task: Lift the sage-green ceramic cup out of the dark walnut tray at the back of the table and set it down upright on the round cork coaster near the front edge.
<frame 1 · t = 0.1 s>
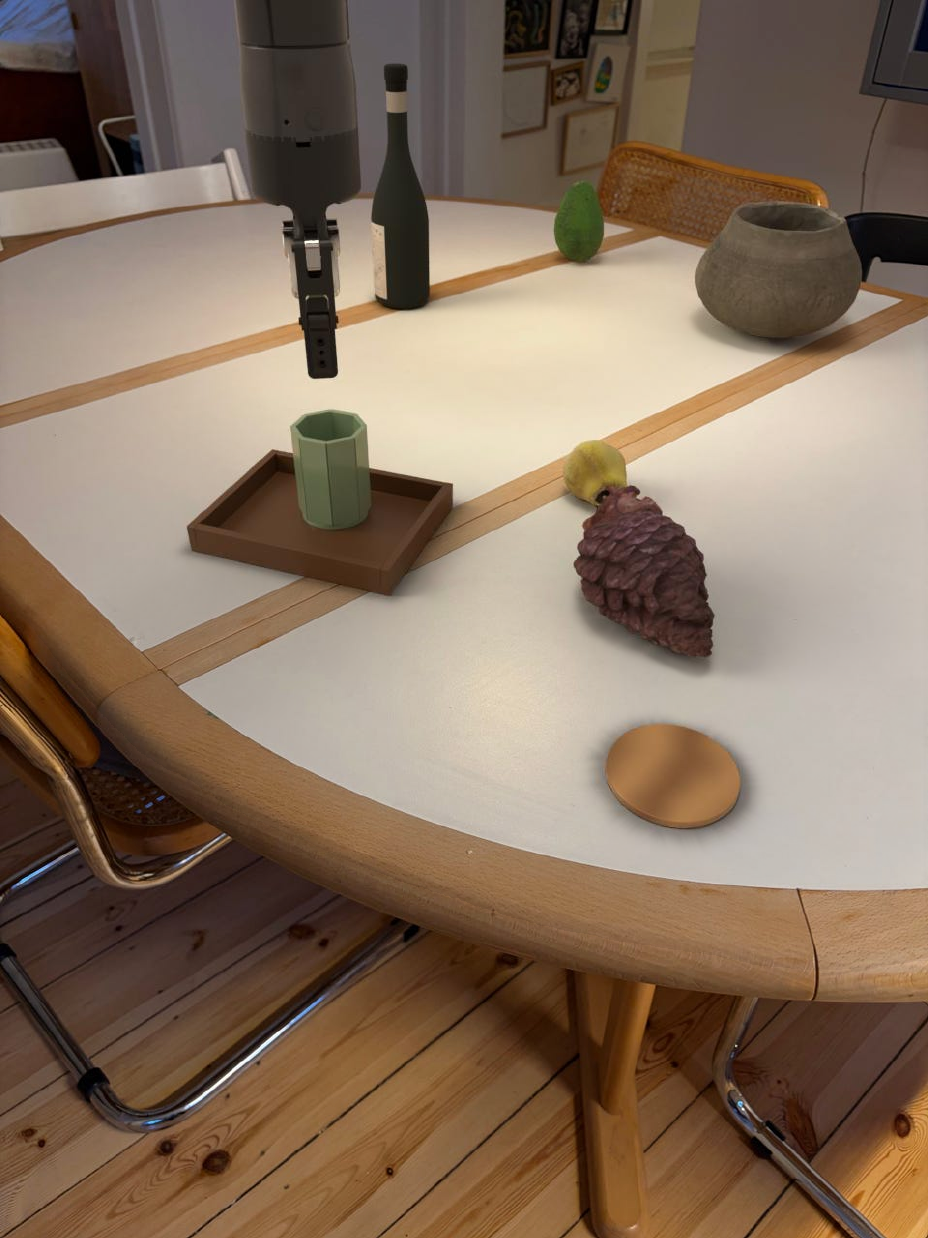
hand: (321, 353, 72), 19 cm above the table, tool pointing down, fingers open, 8 cm apart
coaster: (671, 776, 64), on the table
pine cone: (634, 616, 78), on the table
wine bottle: (402, 302, 136), on the table
fruit 2: (599, 502, 93), on the table
cup: (335, 511, 89), point 1 cm above the table, touching tray
tray: (327, 527, 88), on the table
fruit: (576, 261, 152), on the table
clay pot: (765, 328, 130), on the table
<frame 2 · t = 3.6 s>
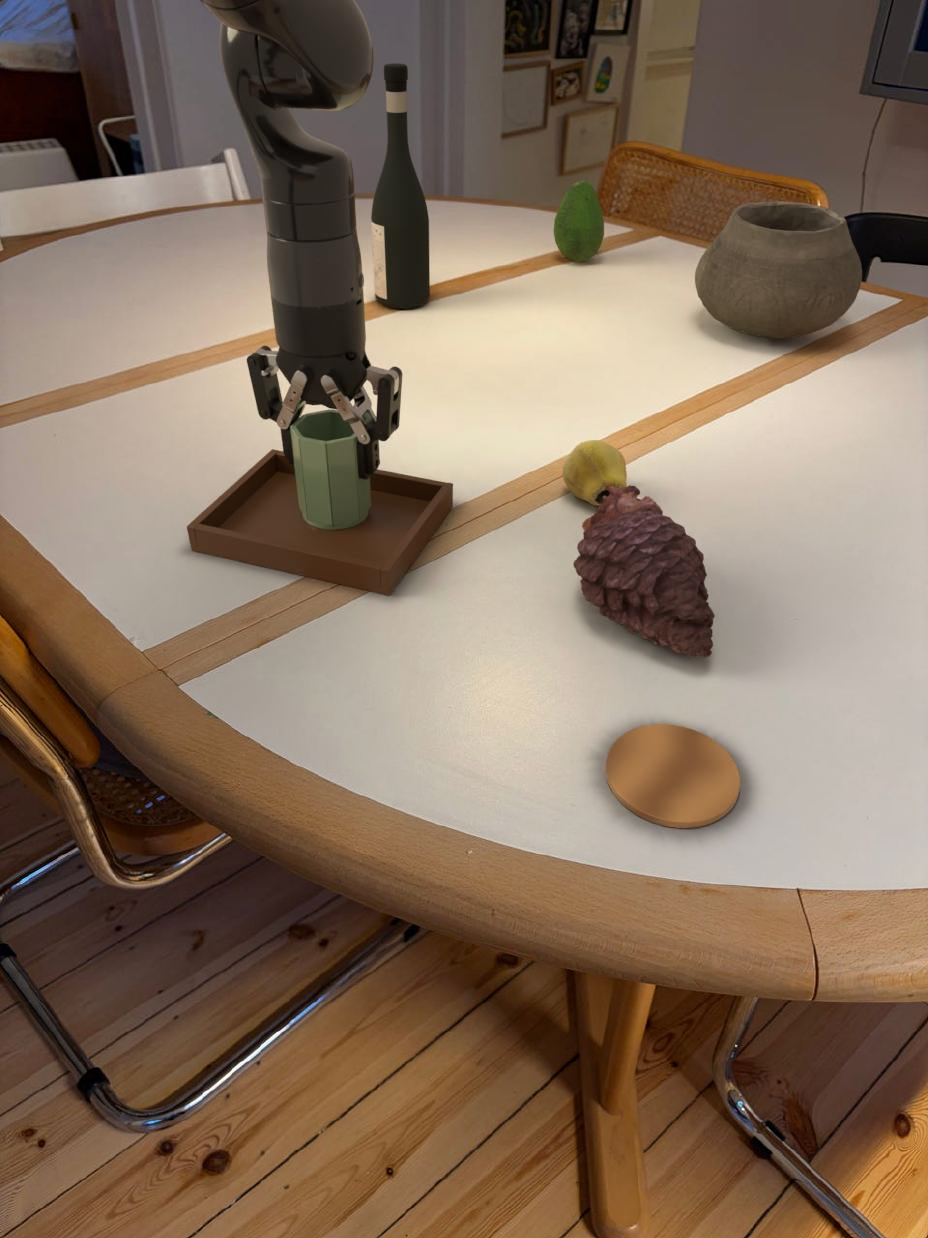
hand: (332, 467, 86), 5 cm above the table, tool pointing down, fingers closed on cup, 6 cm apart
cup: (335, 511, 89), point 1 cm above the table, touching gripper, tray
everything else where it was.
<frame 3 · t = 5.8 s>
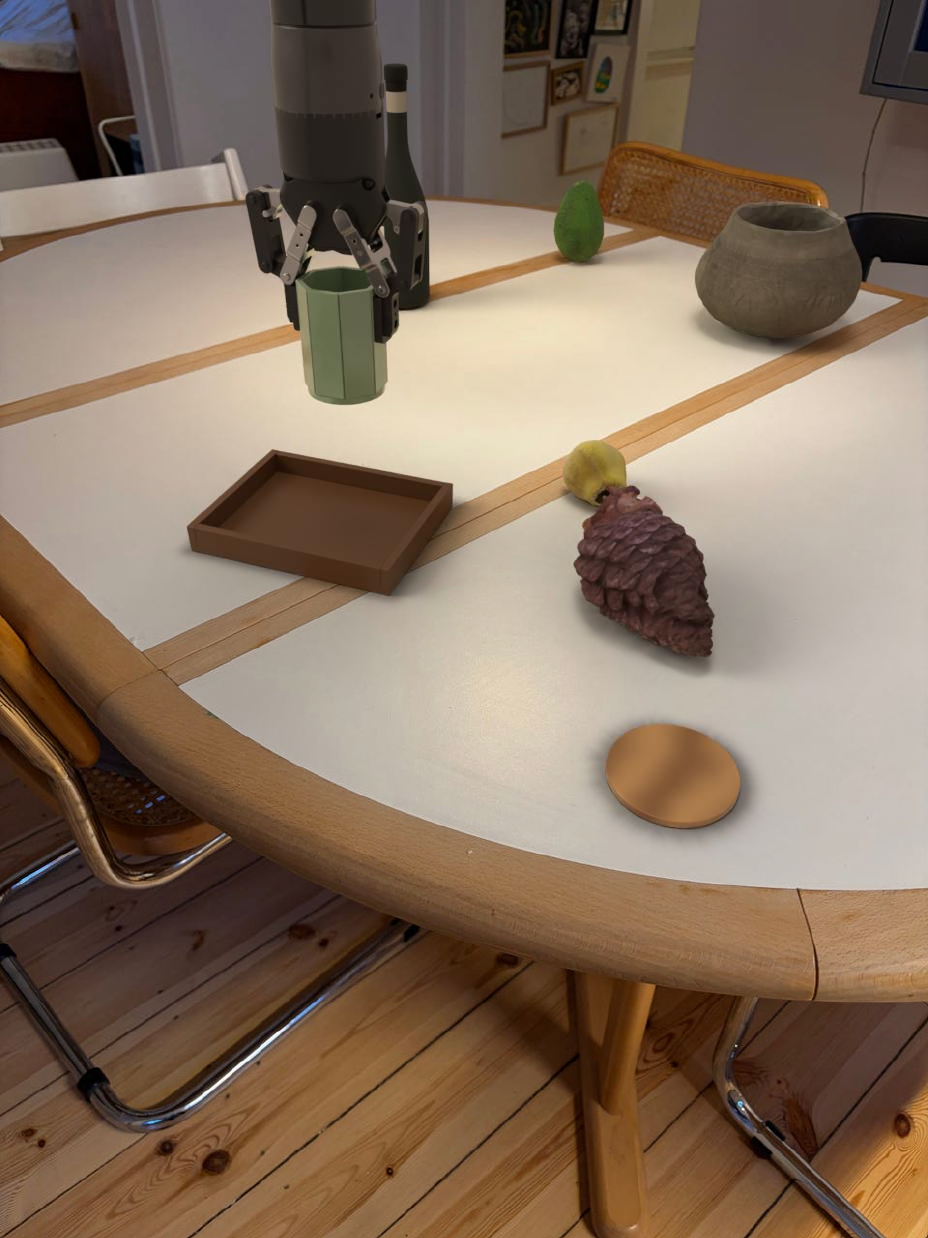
hand: (343, 333, 75), 19 cm above the table, tool pointing down, fingers closed on cup, 6 cm apart
cup: (346, 388, 78), point 15 cm above the table, touching gripper
everything else where it was.
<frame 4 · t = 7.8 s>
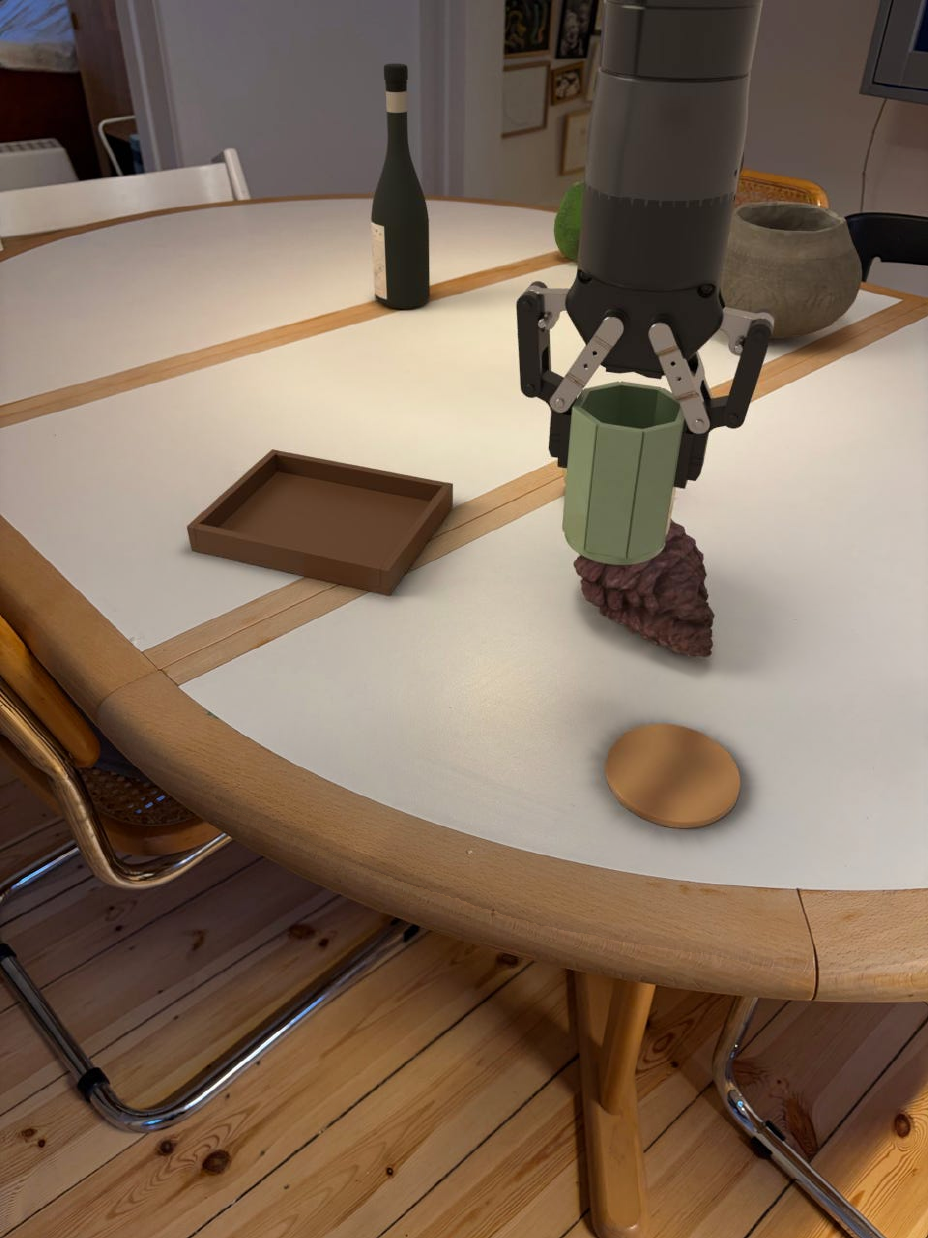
hand: (623, 471, 56), 20 cm above the table, tool pointing down, fingers closed on cup, 6 cm apart
cup: (614, 536, 59), point 15 cm above the table, touching gripper
everything else where it was.
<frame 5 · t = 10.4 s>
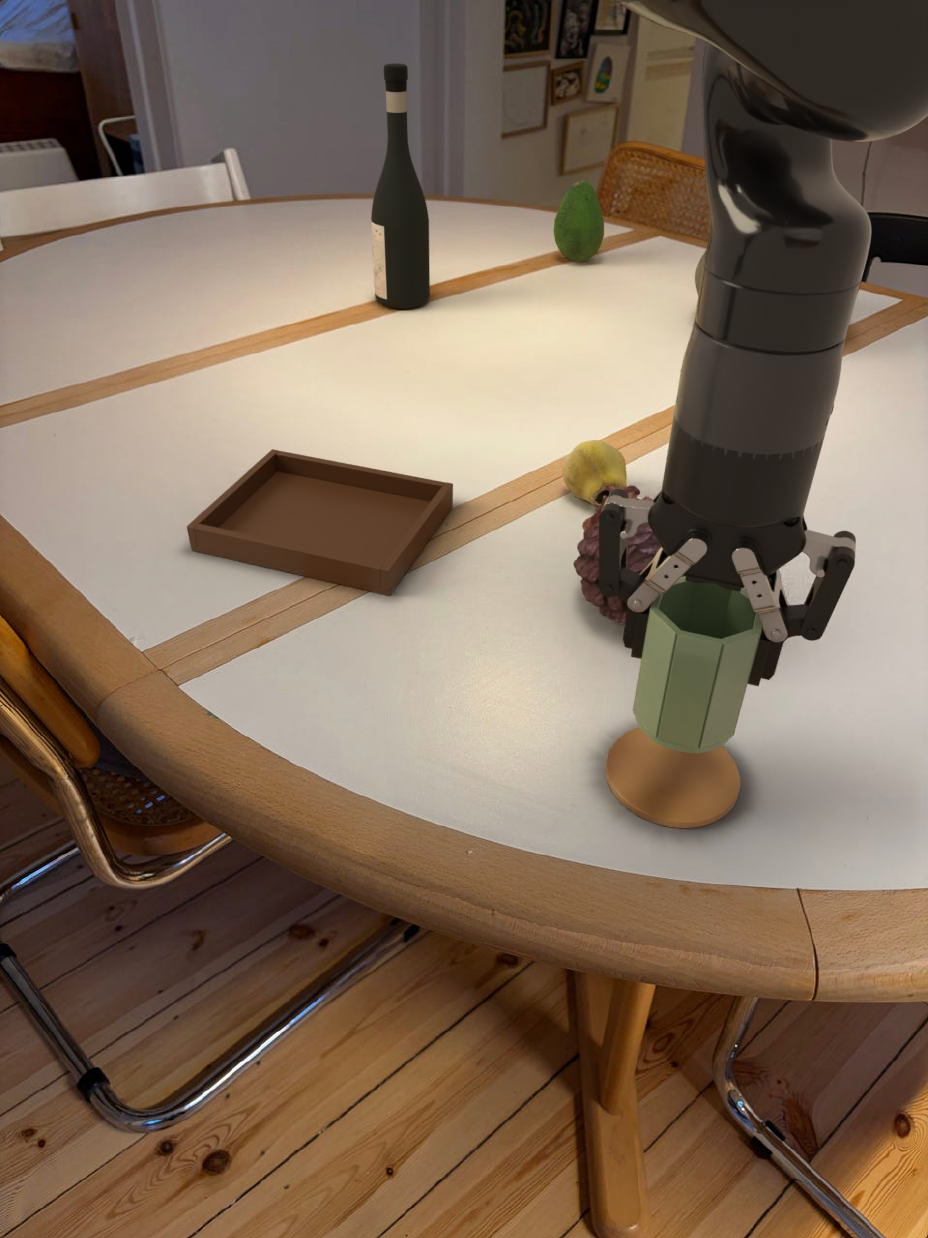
hand: (696, 663, 57), 10 cm above the table, tool pointing down, fingers closed on cup, 6 cm apart
cup: (684, 717, 60), point 6 cm above the table, touching gripper
everything else where it was.
when the fingers open (5 cm above the table, at t = 12.2 s): cup stays where it is, resting on coaster.
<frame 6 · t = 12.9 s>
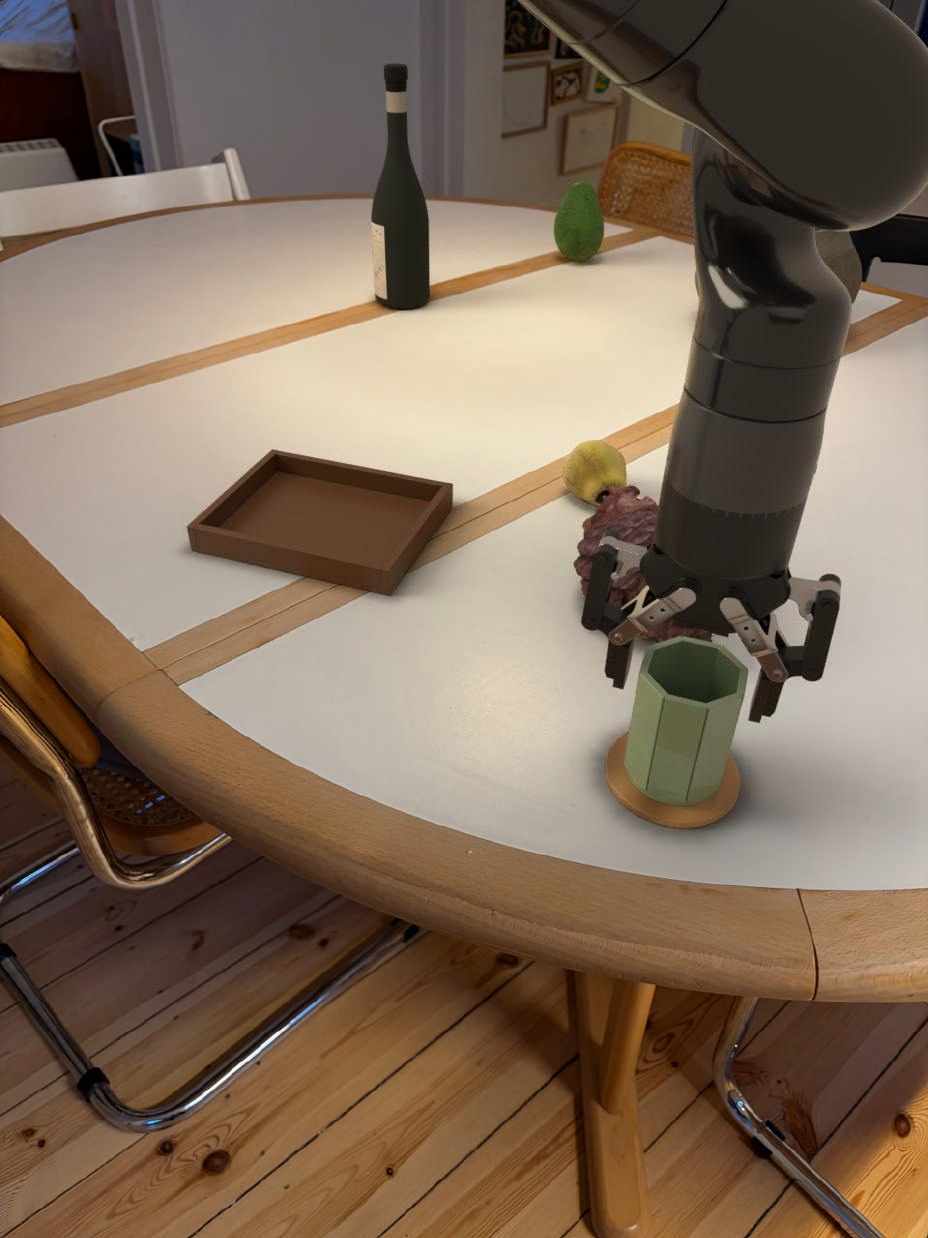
hand: (687, 697, 59), 7 cm above the table, tool pointing down, fingers open, 8 cm apart
cup: (672, 770, 63), point 1 cm above the table, touching coaster
everything else where it was.
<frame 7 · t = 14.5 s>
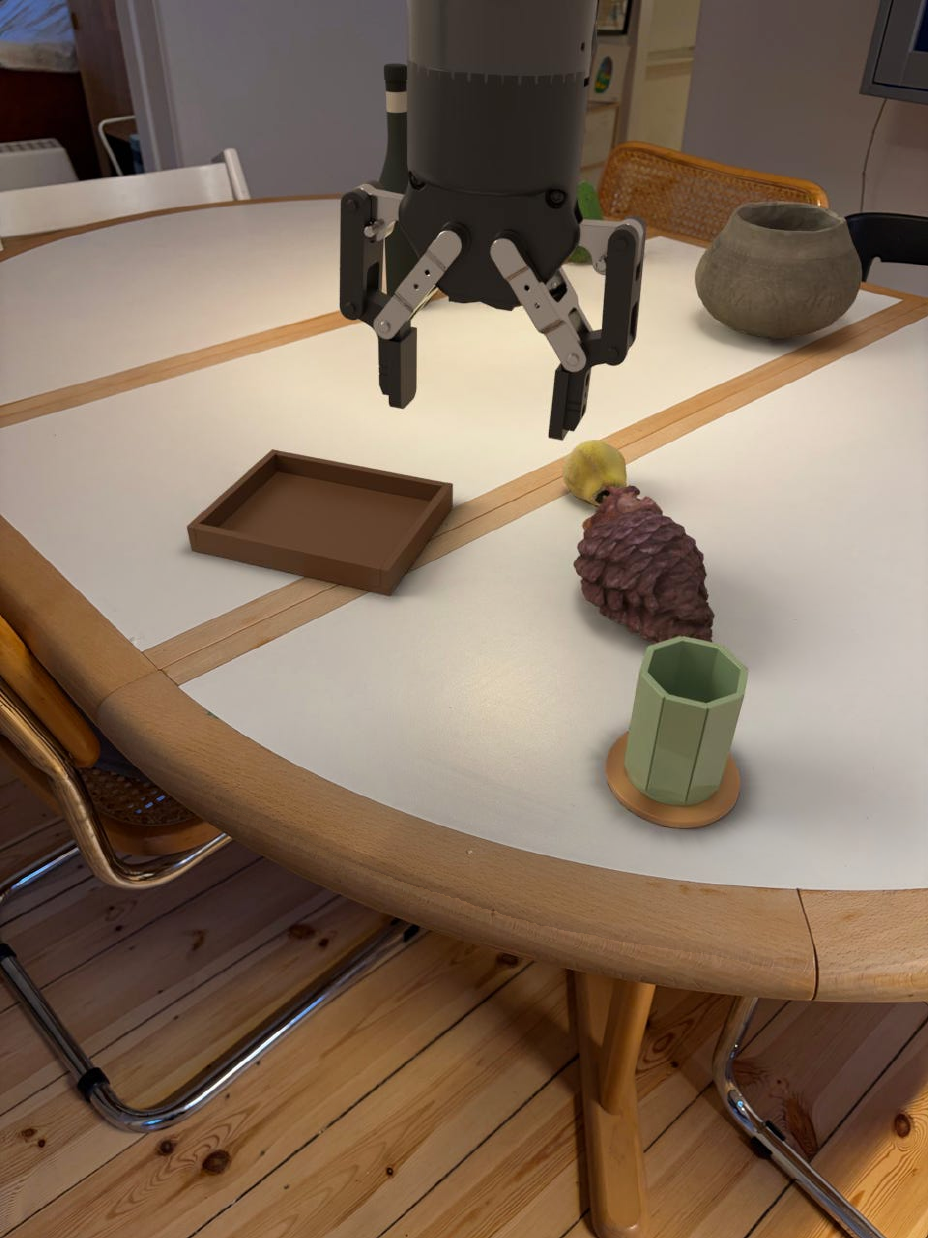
hand: (480, 417, 48), 26 cm above the table, tool pointing down, fingers open, 8 cm apart
nothing on the table moved.
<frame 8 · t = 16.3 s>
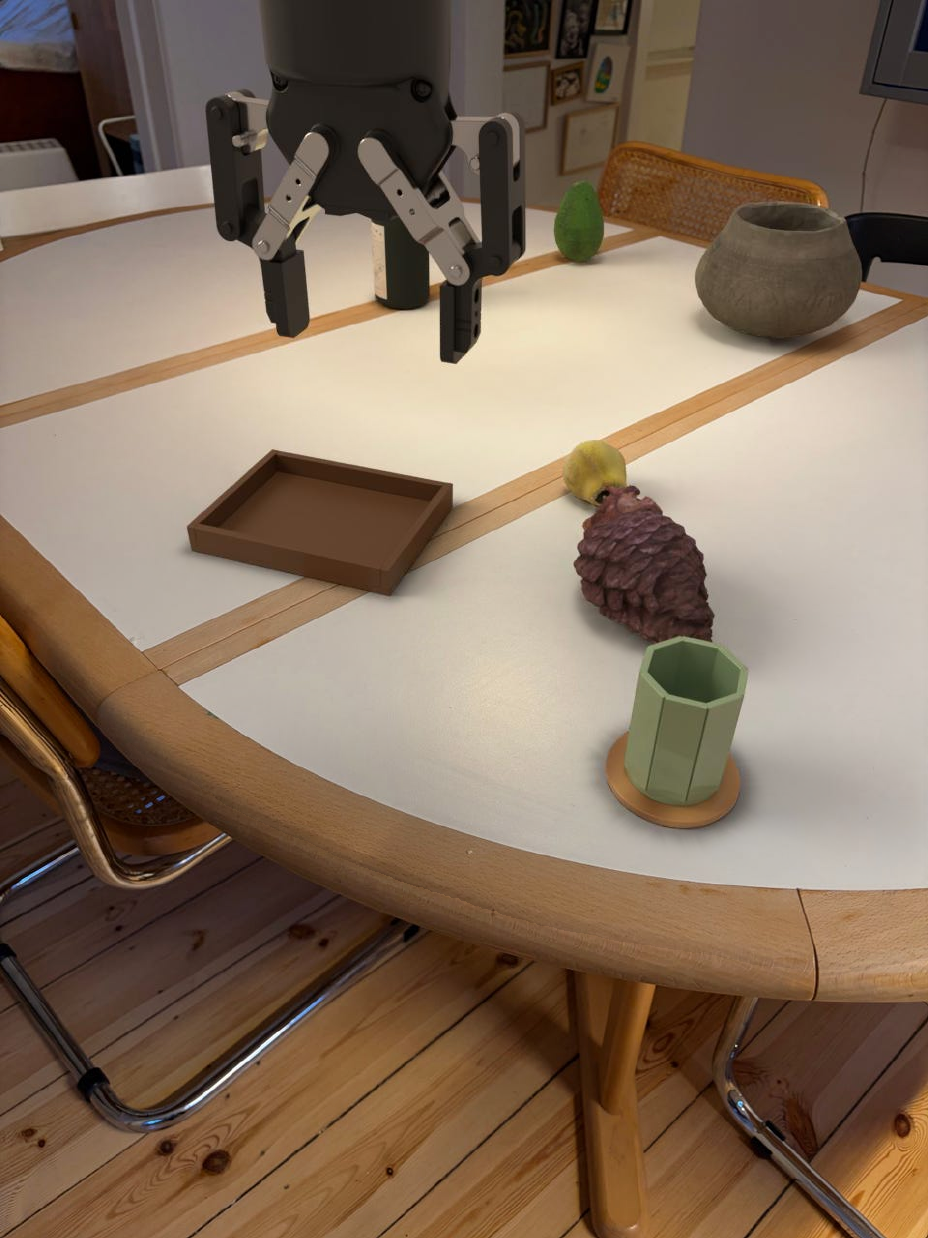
hand: (373, 344, 45), 30 cm above the table, tool pointing down, fingers open, 8 cm apart
nothing on the table moved.
at the end: cup 0.0 cm off-centre on the coaster, point 0.6 cm above the coaster's base; cup tilted 0°; cup touching coaster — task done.
